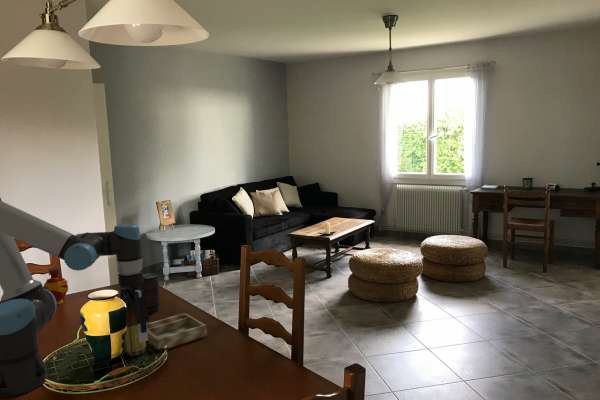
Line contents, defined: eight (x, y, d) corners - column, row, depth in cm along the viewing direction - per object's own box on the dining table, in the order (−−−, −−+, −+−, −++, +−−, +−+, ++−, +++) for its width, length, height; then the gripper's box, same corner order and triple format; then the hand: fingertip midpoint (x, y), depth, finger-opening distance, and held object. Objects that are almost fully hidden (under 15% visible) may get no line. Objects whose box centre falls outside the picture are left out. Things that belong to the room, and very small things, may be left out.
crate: (158, 351, 154) (157, 339, 153) (139, 336, 166) (139, 325, 166) (207, 335, 165) (206, 325, 165) (186, 322, 178) (185, 312, 177)
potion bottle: (38, 307, 198) (35, 272, 196) (52, 298, 208) (49, 266, 206) (62, 306, 198) (59, 272, 196) (75, 298, 208) (72, 265, 206)
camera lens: (149, 315, 186) (147, 279, 184) (135, 312, 190) (132, 276, 188) (164, 309, 192) (162, 274, 190) (150, 306, 196) (148, 271, 195)
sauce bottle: (149, 349, 156) (145, 291, 153) (141, 357, 150) (137, 298, 147) (130, 348, 156) (126, 291, 154) (121, 357, 150) (117, 297, 148)
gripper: (157, 277, 142) (162, 343, 145) (127, 262, 161) (132, 321, 164) (133, 282, 138) (138, 351, 140) (105, 266, 157) (110, 327, 159)
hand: (135, 335), depth 152 cm, fingers open, 13 cm apart
